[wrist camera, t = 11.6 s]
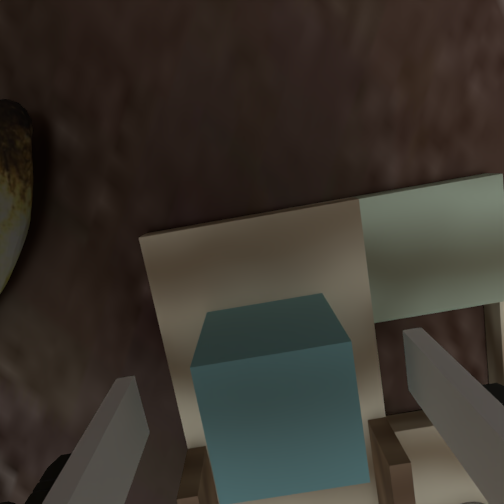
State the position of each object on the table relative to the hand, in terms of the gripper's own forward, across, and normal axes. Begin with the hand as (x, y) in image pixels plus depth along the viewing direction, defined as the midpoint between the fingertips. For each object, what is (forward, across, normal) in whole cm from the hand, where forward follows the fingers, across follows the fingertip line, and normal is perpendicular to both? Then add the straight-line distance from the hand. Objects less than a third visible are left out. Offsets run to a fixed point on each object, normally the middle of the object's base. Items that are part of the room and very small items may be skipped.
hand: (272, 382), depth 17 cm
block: (+4, 0, -1) cm, 5 cm away
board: (+6, +4, -8) cm, 10 cm away
